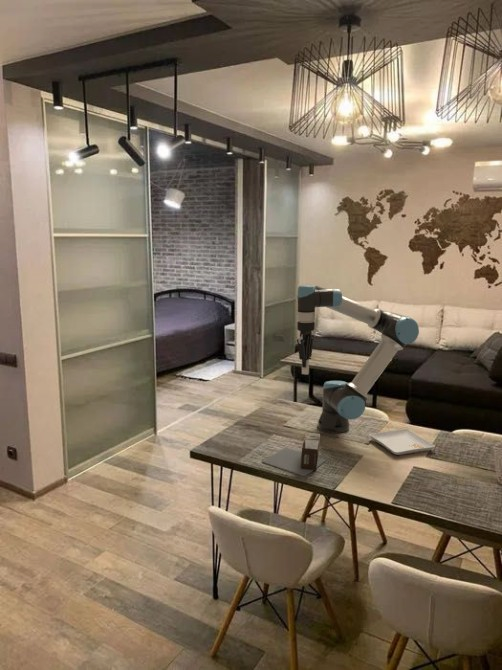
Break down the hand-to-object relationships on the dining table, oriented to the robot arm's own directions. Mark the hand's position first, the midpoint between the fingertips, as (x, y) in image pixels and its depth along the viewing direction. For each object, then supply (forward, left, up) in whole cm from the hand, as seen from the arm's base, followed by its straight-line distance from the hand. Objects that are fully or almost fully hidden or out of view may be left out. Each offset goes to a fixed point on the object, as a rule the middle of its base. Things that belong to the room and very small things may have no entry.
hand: (305, 373), depth 222 cm
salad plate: (-24, +37, -32) cm, 55 cm away
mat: (+20, +8, -32) cm, 39 cm away
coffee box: (+9, +10, -27) cm, 30 cm away
